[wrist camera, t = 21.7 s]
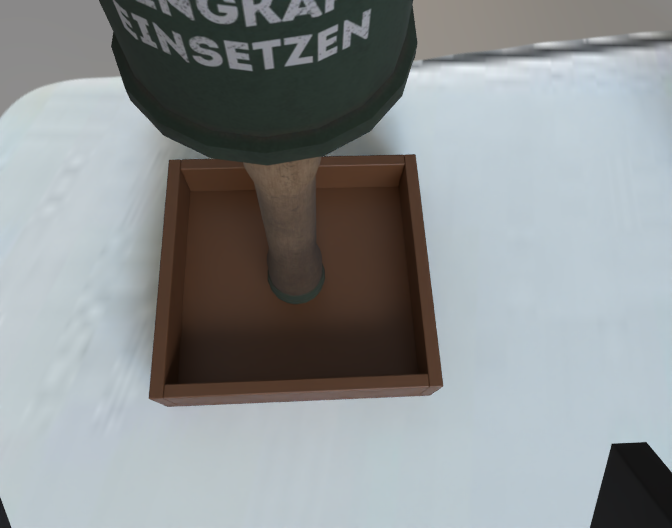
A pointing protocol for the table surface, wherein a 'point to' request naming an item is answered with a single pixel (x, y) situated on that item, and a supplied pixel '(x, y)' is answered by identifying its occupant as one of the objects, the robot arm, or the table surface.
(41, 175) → the table surface
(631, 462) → the robot arm
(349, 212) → the holder
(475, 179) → the table surface
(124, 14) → the potato masher grenade
